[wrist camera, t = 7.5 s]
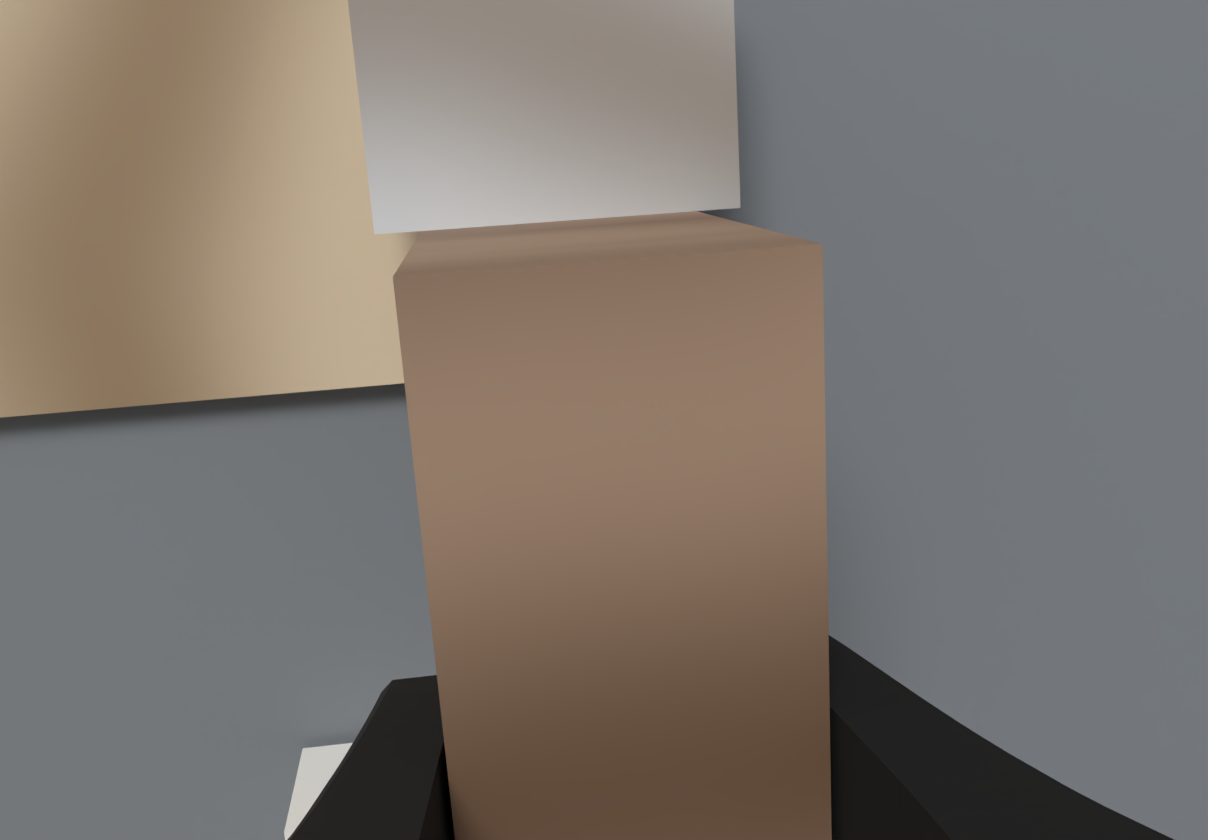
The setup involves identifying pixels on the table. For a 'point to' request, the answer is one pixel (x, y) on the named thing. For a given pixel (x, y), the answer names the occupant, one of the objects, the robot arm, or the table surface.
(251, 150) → the pad
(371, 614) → the mat
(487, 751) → the brown rectangular block
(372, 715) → the robot arm
